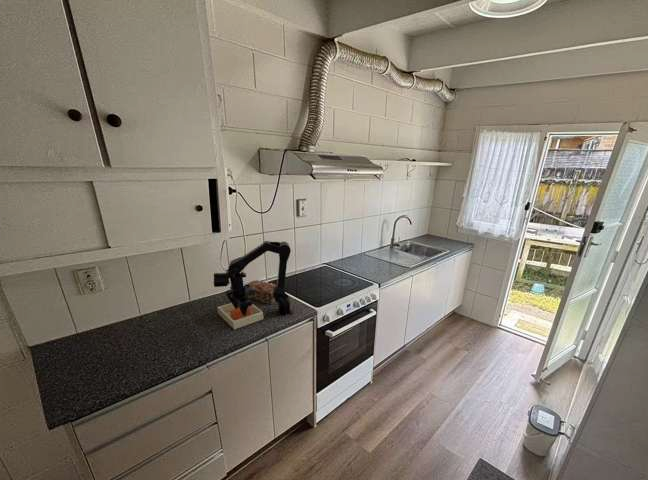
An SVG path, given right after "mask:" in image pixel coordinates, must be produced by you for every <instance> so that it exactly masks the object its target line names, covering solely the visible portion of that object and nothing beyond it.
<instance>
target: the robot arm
mask: <svg viewBox="0 0 648 480" xmlns="http://www.w3.org/2000/svg"><path fill="white" fill-rule="evenodd" d="M266 252H271V253H274V254H278V259H279V260H278V270H277V279H276V280H277V282H276V284H275V285H276V287H275V286H273V288H274V291H273V298H275V301H276V302H275V303H276V304H278V310H277V311H276V313H277V314H279V315H280V316H281V317H284V316H287V315H291V314H293V311H292V310H291V306H290V305H291V300H290V296H289V295H288V293H286V289H285V287H286V286H285V284H286V277H287V265H288V260H289V259H290V255H291V252H292V249H291V246H290V244H289V242H287V241H281V242H280V241H269V240H265V241H263V242H262V243H261V244H259V245H258V246H257V247H255V248H254V249H252V250H250V251H249V252H247V253H246V254H244V255H243V256H240V257H239V256H238V257H237V258H235V259H233V260H230V262H229V264H228V268H227V270H226V271H225V272H214V273H213V287H214V288H221V287H229V289H227V290H226V291H225V296H226V298H227V299H228V300H229V302H230V303H232V304H233V306H234V307H235V309H237V308H238V307H239V309H240V311H241V313H242V314H243V316H245V315H246V312H247V309H248V307H249V306H251V305H254V303H253V299H251V298H248V297H247V295H252V296H254V294H255V289H254V288H252V287H250V285H248V283H245V284H244V278H247V273H246V272H245V271H243V270H245V268H246V267H247V266H248V265H249V264H250V263H252V262H253V261H255V260H256V259H258V258H260V257H261V256H262V255H263V254H265V253H266ZM229 285H230V286H229Z"/></svg>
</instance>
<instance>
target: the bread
mask: <svg viewBox="0 0 648 480" xmlns="http://www.w3.org/2000/svg"><path fill="white" fill-rule="evenodd" d="M247 284H248V285H250V287H252V288H254V289H255V294H254V296H252V295H247V296H246V298H249V299H250V300H255V301H258V302H261V303H265V304H270V305H273V304H276V303H277V302H276V301H275V298H273V291H274V288H273V286H275V287H276V285H277V284H275V283H272V282H267V281H263V280H251V281H249V282H248V283H247Z"/></svg>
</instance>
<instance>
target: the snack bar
mask: <svg viewBox="0 0 648 480" xmlns="http://www.w3.org/2000/svg"><path fill="white" fill-rule="evenodd" d="M230 315H231V318H232V319H233V320H237V319H240V318H243V317H246V316H249V315H251V313H250V308H249V307H248V309H247V312H246V315H245V316H243V314H242V313H241V311H240V309H239V308H237V309H234V310H231V311H230Z"/></svg>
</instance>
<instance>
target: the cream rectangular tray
mask: <svg viewBox="0 0 648 480" xmlns="http://www.w3.org/2000/svg"><path fill="white" fill-rule="evenodd" d="M238 308H239V307H238ZM249 308H250V313H251V315H249V316H246V317H243V318H240V319H237V320H233V319H232V318H231V315H230V311H231V310H234V309H235V307H234V306H233V304H232V303H231V302H229V303H227V304H223V305H220V306H217V313H218V315H219V316H220V317H221V318H222V319H223V320H224V321H225V322H226V323H227V324H228V325H229V326H230V327H231V328H232V329H233V330H236V329H240V328H242V327H245V326H248V325H250V324H253V323H256V322H259V321H262V320H264V312H263V311H262V310H261V309H260V308H259V307H257V306H256V305H255V304H253V305H251V306H249Z"/></svg>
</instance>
